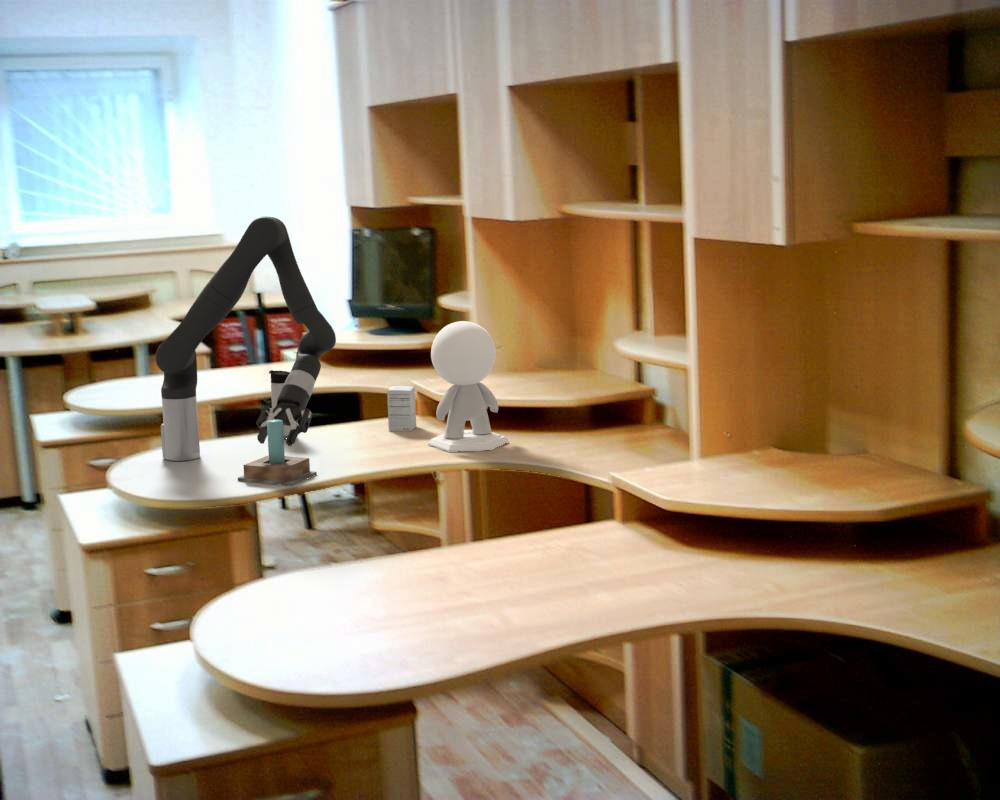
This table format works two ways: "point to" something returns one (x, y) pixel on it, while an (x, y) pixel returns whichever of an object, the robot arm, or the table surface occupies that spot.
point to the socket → (277, 471)
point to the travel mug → (276, 387)
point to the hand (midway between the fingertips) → (274, 443)
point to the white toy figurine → (465, 387)
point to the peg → (275, 442)
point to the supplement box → (401, 408)
